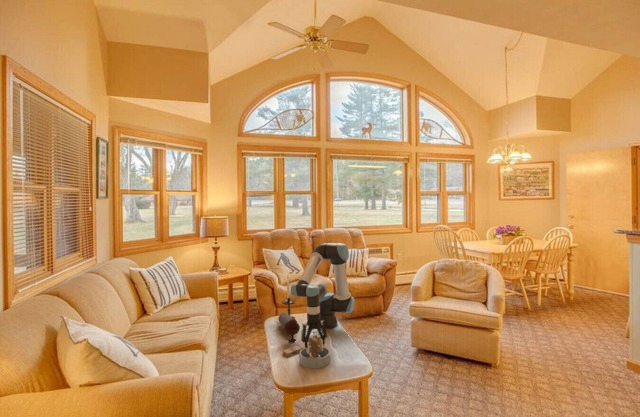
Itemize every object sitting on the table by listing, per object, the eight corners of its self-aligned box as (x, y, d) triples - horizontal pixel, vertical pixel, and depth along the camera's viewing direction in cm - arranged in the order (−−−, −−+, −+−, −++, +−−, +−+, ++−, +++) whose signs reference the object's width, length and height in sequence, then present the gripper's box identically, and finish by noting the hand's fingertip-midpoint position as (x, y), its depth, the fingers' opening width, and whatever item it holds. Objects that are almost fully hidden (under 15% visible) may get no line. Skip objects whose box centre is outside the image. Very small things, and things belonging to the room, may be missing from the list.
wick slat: (315, 357, 199) (314, 337, 199) (318, 361, 194) (317, 340, 194) (311, 358, 198) (310, 338, 198) (314, 362, 193) (313, 341, 193)
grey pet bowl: (322, 351, 208) (322, 343, 208) (335, 363, 191) (334, 355, 191) (295, 357, 201) (295, 349, 201) (306, 370, 185) (305, 361, 185)
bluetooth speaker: (277, 326, 254) (277, 312, 254) (289, 324, 257) (289, 311, 257) (285, 336, 233) (285, 322, 232) (298, 334, 236) (297, 320, 236)
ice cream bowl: (301, 337, 230) (300, 315, 230) (298, 344, 219) (298, 321, 219) (286, 337, 231) (285, 315, 231) (282, 344, 220) (282, 321, 220)
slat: (298, 349, 213) (298, 345, 213) (303, 351, 210) (303, 347, 209) (282, 354, 206) (282, 350, 206) (287, 357, 202) (287, 353, 202)
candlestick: (294, 322, 261) (292, 277, 260) (280, 321, 263) (279, 276, 262) (297, 317, 272) (296, 274, 271) (284, 316, 274) (283, 273, 273)
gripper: (327, 308, 203) (328, 345, 204) (294, 313, 195) (295, 352, 195) (332, 311, 196) (333, 350, 197) (298, 317, 188) (300, 357, 189)
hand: (314, 351), depth 196 cm, fingers open, 8 cm apart
